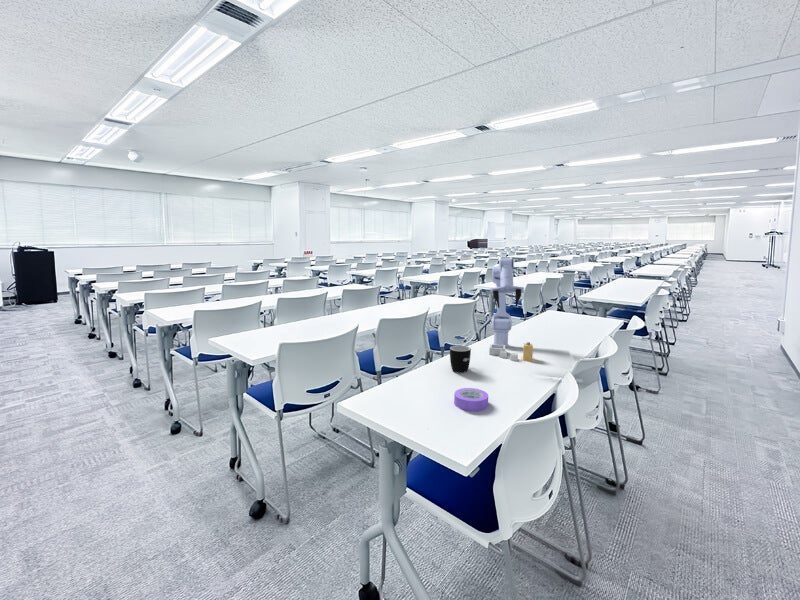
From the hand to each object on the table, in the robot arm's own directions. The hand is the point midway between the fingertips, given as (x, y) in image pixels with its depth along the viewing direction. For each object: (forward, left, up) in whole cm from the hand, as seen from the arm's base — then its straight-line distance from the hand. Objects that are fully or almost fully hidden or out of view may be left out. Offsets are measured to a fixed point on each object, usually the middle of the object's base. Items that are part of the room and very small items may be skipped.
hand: (507, 306), depth 168 cm
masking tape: (+46, -10, -28) cm, 54 cm away
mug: (+12, -18, -27) cm, 35 cm away
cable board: (-10, +3, -27) cm, 29 cm away
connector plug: (-7, +10, -26) cm, 29 cm away
